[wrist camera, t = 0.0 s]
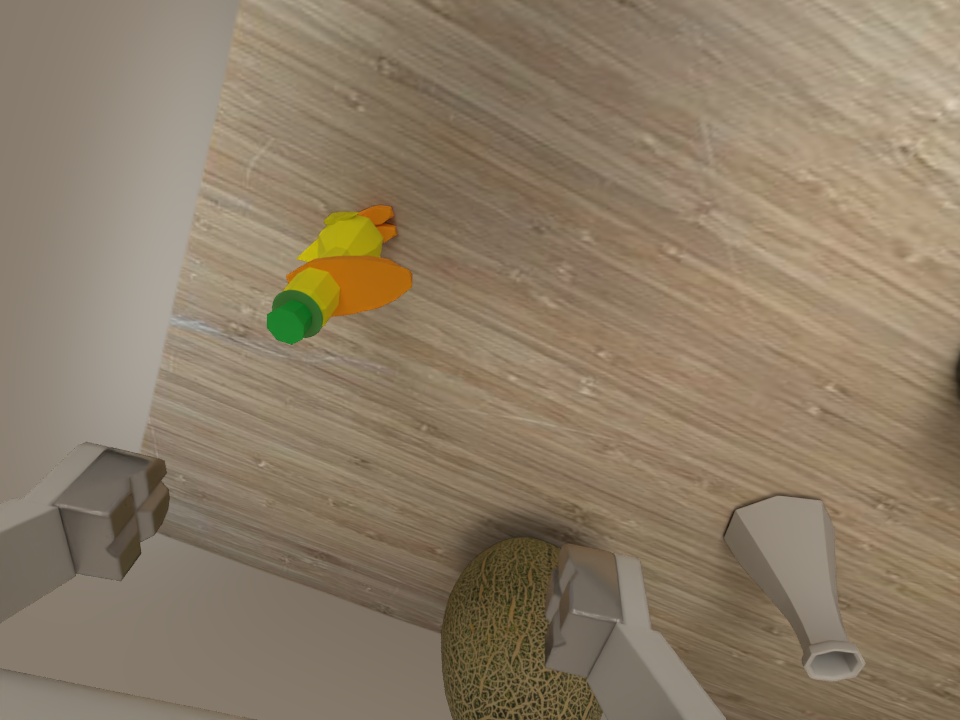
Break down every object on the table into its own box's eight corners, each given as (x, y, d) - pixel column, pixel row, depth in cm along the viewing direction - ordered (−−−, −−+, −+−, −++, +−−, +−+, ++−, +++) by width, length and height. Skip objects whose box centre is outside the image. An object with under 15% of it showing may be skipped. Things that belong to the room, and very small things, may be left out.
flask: (834, 486, 40) (912, 621, 31) (830, 559, 43) (900, 698, 35) (720, 499, 41) (764, 631, 33) (725, 569, 45) (767, 704, 36)
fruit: (629, 533, 44) (663, 756, 31) (567, 620, 50) (574, 836, 37) (482, 485, 43) (455, 696, 30) (436, 579, 49) (397, 789, 36)
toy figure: (434, 182, 32) (380, 274, 22) (446, 246, 33) (403, 358, 23) (314, 199, 33) (209, 294, 23) (332, 259, 35) (243, 373, 24)
